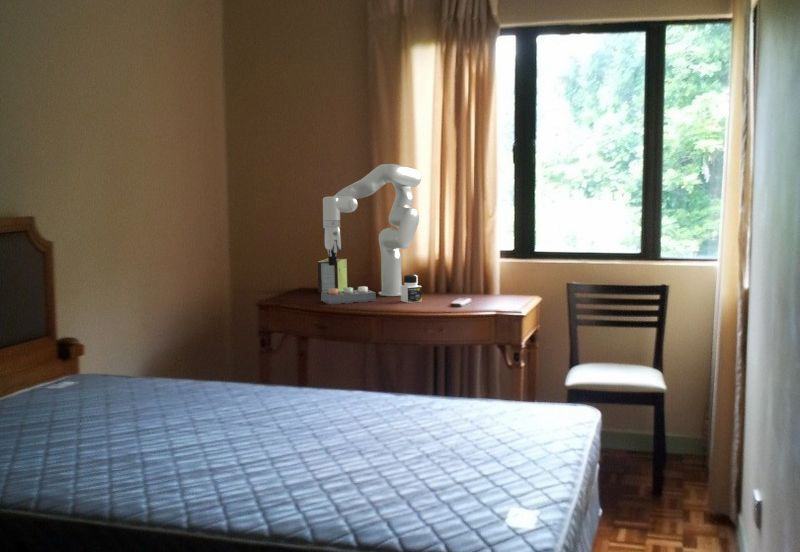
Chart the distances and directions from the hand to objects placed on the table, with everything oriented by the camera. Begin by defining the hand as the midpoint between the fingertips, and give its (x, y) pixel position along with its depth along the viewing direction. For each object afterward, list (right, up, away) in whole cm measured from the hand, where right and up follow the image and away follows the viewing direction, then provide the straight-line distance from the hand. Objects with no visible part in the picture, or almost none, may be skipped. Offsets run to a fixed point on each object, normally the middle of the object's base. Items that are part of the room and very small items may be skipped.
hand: (332, 265), depth 389 cm
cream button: (+13, -13, +7) cm, 20 cm away
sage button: (+7, -13, +4) cm, 16 cm away
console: (+7, -16, +5) cm, 18 cm away
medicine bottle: (+35, -17, +1) cm, 39 cm away
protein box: (-3, -13, +39) cm, 41 cm away
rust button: (0, -14, +2) cm, 14 cm away
